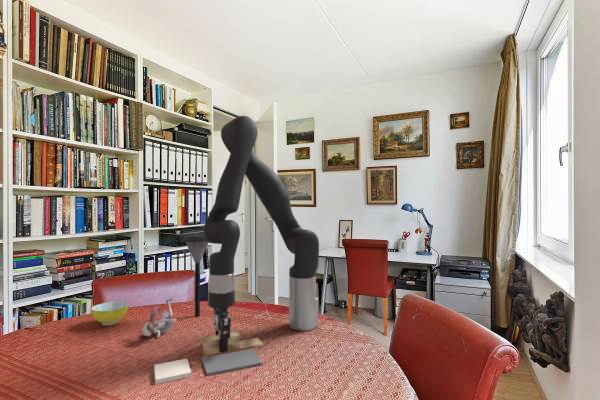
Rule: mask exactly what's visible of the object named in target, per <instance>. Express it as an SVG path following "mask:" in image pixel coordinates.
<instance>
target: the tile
mask: <svg viewBox="0 0 600 400" xmlns="http://www.w3.org/2000/svg"><path fill="white" fill-rule="evenodd" d="M153 366H154V367H153V369H154V371H153V372H154V382H155V383H154V384H155V385H160V384H164V383H169V382H173V381H178V380H183V379H186V378H187V379H188V378H191V377H192V371H191V368H190V367H191V366H190V364H189V361H188V358H181V359H177V360H172V361H168V362H167V361H166V362H161V363H157V364H153Z"/></svg>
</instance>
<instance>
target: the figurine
mask: <svg viewBox="0 0 600 400" xmlns="http://www.w3.org/2000/svg"><path fill="white" fill-rule="evenodd" d="M165 301H166V303H167V306H168V307H167V309H168V310H166V309H162V311H161V309H160V307H159V306H154V308H153V309H152V310H150V312H149V313H150V314H148V317H149V318H148V319H149V322H147V321H146V322H145V323H144V326H143V327H142V329H141V332H142V333H141V334H140V335H141V336H142V337H150V336H151V335H152V334H157V335H156V338H157V339H159V338H160V337H161V334H165V333H167V332H168V331H169V330H170V329H171V328H172V327H173V324H174V323H176V322H177V319H176V318H173V316H174V315H173V310H172V308H171V302H172V301H173V298H168V299H166V300H165ZM160 312H161V315H160V319H159V320H155V318H156V315H158V314H159V313H160ZM159 329H160V330H159Z"/></svg>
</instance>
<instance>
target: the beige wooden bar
mask: <svg viewBox="0 0 600 400" xmlns="http://www.w3.org/2000/svg"><path fill="white" fill-rule="evenodd" d="M263 346H264V342H262V341H261V340H260V339H259V338H258V337H255V338H250V339H243V340H241V335H240V333H239V332H238V331H233V332H230V338H228V350H227V351H226V352H230V351H235V350H239V351H243V350H248V349H253V348H258V347H263ZM202 353H203V356H204V357H207V356H212V355H215V354H220V353H221V354H222V352H220V351H219V335H216V334H215V335H210V336H205V337H203V336H202Z"/></svg>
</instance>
